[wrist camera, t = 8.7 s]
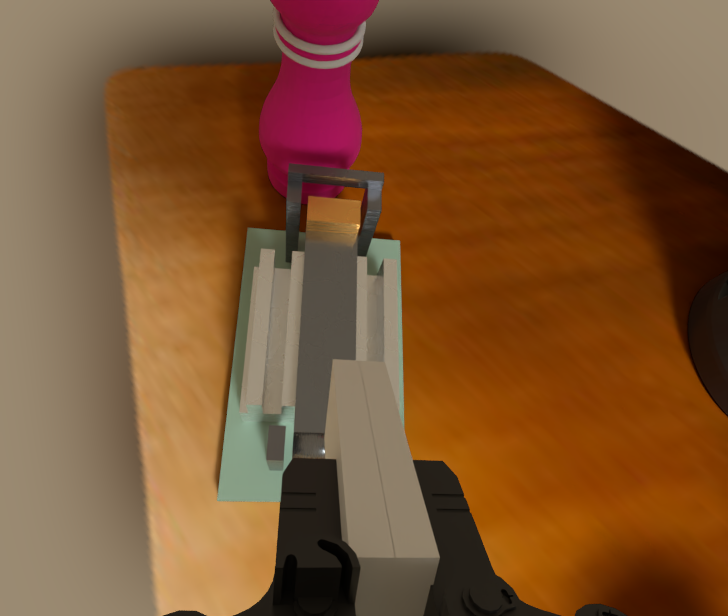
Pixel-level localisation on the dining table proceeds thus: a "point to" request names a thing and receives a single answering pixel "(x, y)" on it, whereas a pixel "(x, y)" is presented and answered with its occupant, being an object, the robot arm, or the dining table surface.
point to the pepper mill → (314, 90)
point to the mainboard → (242, 439)
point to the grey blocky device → (283, 310)
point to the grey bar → (324, 314)
